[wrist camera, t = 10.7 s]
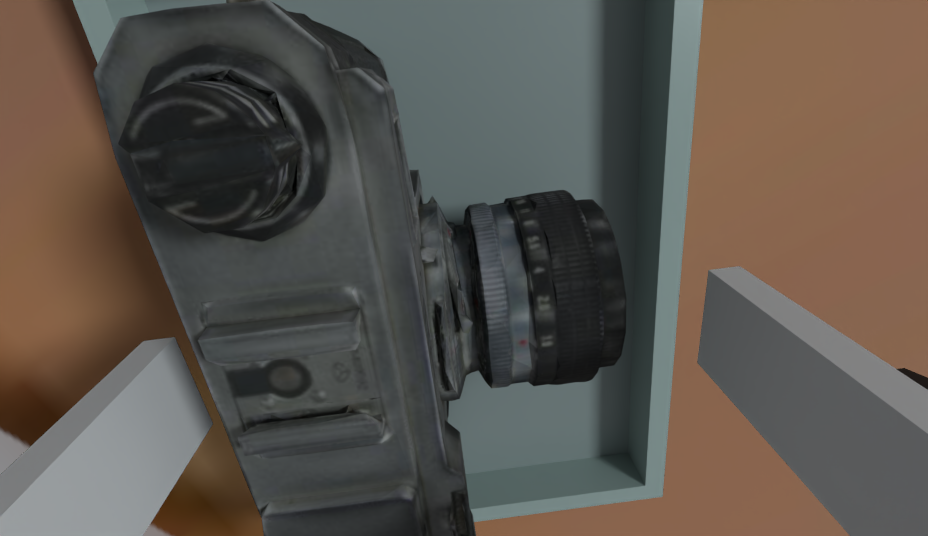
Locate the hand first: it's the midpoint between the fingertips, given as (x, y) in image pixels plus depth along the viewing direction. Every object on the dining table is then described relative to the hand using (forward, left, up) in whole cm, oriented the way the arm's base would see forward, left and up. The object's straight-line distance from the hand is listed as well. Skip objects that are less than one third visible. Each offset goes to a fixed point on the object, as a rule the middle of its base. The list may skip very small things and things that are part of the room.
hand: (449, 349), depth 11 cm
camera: (+1, 0, -6) cm, 6 cm away
